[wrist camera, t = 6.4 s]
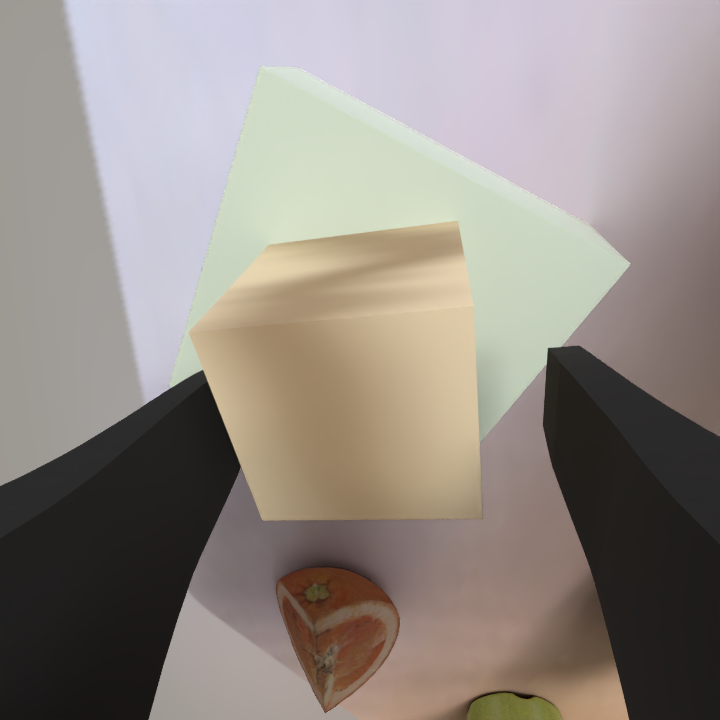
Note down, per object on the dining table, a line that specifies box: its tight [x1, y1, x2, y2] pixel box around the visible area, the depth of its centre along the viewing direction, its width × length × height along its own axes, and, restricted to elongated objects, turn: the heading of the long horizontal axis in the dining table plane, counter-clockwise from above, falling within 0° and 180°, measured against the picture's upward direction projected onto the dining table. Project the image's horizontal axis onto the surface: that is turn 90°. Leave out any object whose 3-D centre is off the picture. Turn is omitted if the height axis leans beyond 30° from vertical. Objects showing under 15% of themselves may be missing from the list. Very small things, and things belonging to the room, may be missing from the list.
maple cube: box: [189, 221, 483, 521], centre depth 11 cm, size 5×5×5 cm
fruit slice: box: [276, 567, 400, 713], centre depth 24 cm, size 8×7×5 cm
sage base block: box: [169, 66, 631, 442], centre depth 15 cm, size 10×10×4 cm
